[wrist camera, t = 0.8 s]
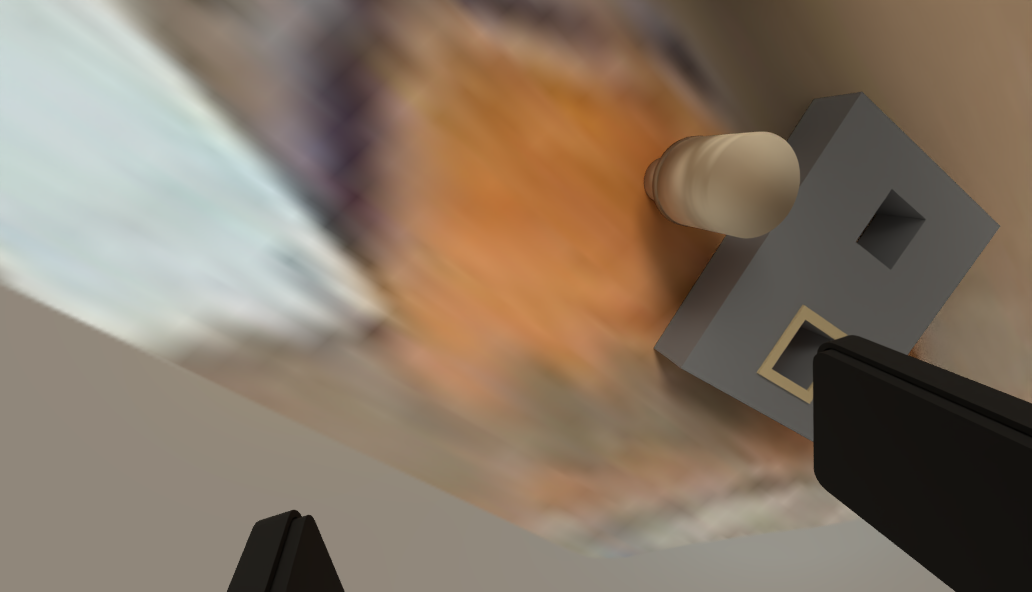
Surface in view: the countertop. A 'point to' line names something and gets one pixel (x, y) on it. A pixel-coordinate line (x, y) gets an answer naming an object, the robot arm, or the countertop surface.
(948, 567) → the robot arm
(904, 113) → the countertop surface
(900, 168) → the seat block
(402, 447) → the countertop surface
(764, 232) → the peg
